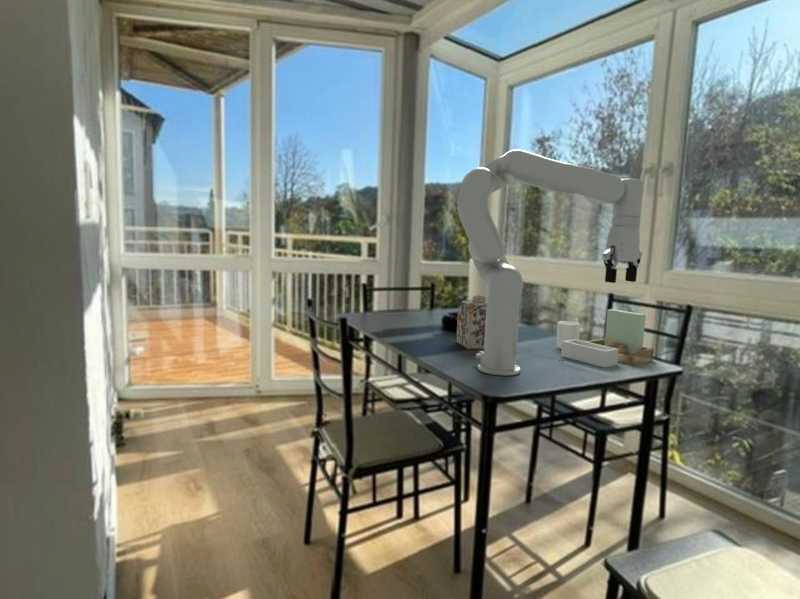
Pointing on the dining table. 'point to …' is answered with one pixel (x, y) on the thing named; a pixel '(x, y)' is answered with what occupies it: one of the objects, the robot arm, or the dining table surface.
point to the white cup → (567, 331)
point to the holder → (590, 352)
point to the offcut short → (618, 346)
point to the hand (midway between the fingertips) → (620, 281)
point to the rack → (631, 354)
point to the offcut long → (623, 352)
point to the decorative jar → (472, 322)
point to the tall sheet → (625, 329)
